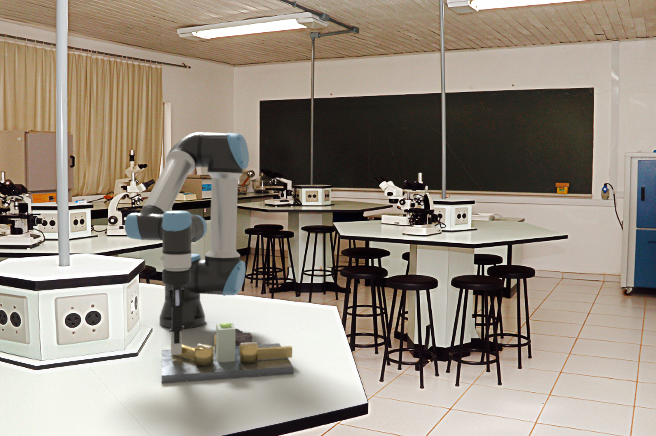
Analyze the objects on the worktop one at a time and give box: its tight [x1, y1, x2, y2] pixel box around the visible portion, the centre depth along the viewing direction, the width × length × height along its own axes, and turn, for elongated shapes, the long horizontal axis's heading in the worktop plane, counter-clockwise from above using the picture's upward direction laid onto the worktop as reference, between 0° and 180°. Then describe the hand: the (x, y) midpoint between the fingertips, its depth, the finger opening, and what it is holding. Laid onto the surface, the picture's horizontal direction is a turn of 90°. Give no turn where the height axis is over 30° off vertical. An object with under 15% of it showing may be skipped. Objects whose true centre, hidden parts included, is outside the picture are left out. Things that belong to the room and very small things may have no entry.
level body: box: [215, 322, 236, 362], centre depth 167 cm, size 6×5×10 cm
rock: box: [214, 328, 253, 346], centre depth 185 cm, size 8×11×5 cm
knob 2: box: [239, 341, 293, 362], centre depth 167 cm, size 14×5×5 cm, turn 106°
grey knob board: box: [160, 334, 294, 384], centre depth 167 cm, size 20×34×6 cm, turn 105°
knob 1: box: [177, 343, 214, 365], centre depth 165 cm, size 14×5×5 cm, turn 57°
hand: (176, 353), depth 165 cm, fingers closed
